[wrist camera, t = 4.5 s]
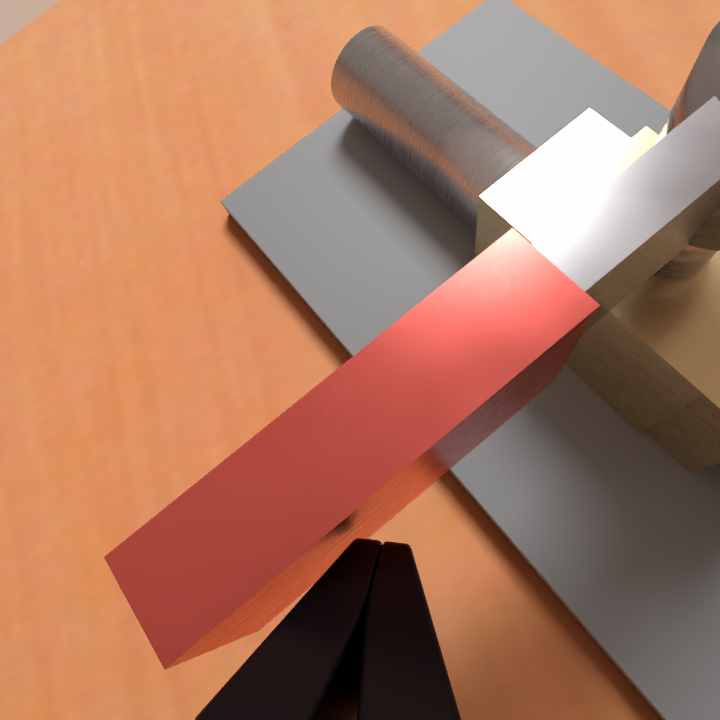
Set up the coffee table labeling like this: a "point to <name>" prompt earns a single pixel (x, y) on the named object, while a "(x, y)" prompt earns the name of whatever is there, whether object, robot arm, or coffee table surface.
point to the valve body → (538, 215)
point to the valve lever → (417, 396)
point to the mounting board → (557, 401)
